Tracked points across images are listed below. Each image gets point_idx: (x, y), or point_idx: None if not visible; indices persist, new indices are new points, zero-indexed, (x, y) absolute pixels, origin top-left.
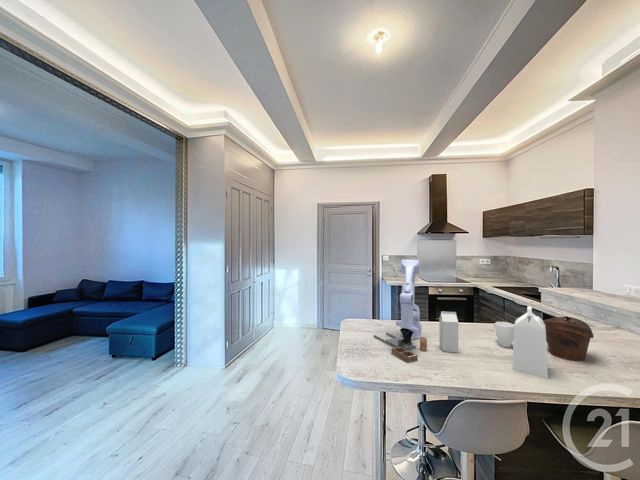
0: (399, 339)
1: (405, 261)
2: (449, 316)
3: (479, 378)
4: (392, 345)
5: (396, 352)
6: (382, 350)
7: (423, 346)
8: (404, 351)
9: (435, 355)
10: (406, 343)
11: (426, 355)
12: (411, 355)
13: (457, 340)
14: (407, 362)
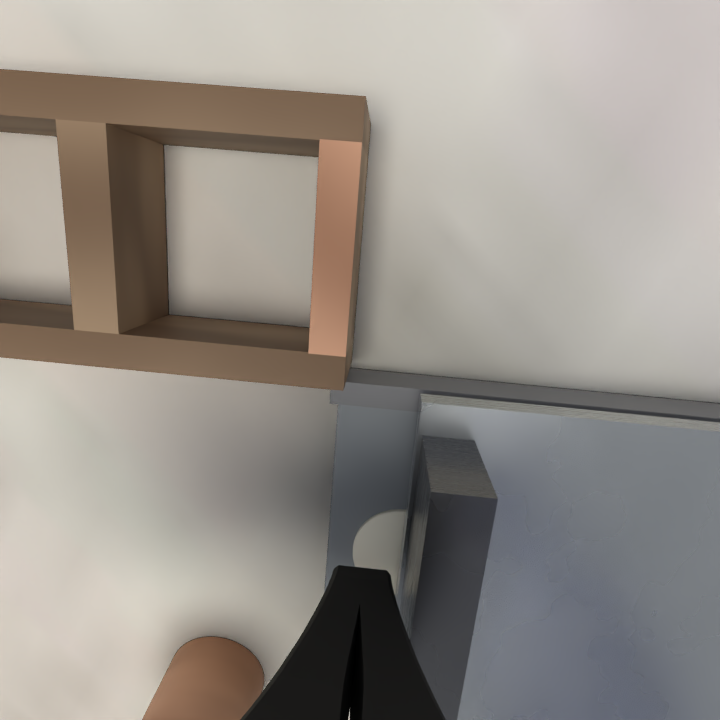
0: (644, 666)
1: None
2: None
3: None
4: (595, 400)
5: (185, 87)
6: (601, 75)
7: (148, 716)
8: (102, 258)
9: (18, 657)
10: (335, 572)
11: (60, 570)
12: (18, 311)
13: None
14: None
